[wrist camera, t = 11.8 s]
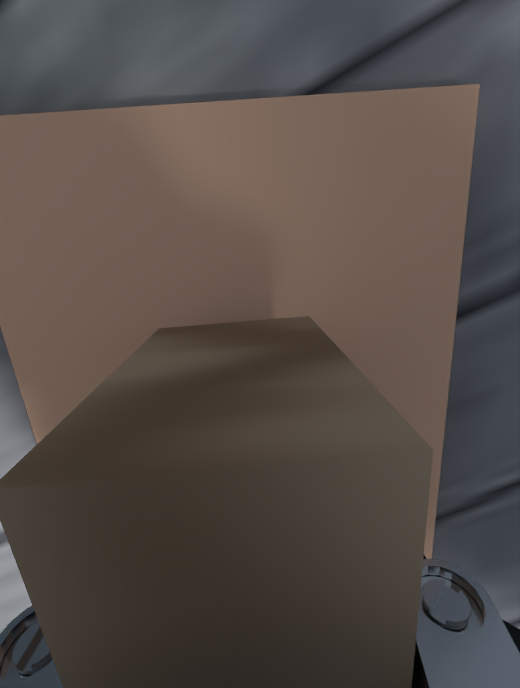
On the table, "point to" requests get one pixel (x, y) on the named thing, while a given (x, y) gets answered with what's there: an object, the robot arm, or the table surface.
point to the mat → (239, 236)
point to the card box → (226, 518)
